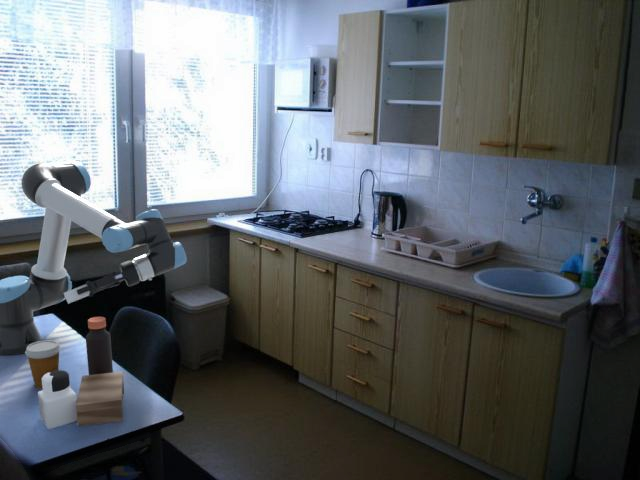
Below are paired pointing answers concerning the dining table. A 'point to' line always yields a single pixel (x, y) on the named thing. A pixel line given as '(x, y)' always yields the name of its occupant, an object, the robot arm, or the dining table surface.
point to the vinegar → (98, 347)
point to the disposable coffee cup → (43, 359)
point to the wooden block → (100, 399)
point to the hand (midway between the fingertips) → (65, 298)
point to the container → (57, 400)
